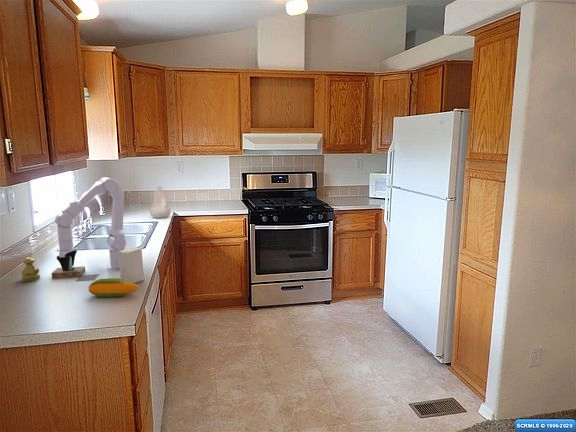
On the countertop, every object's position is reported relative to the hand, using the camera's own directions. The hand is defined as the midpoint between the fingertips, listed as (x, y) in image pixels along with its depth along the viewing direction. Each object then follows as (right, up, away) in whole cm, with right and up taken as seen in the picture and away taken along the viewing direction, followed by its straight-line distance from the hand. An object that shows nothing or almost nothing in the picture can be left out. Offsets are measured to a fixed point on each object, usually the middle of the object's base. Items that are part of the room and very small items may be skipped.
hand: (68, 268), depth 197 cm
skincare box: (+32, -5, -7) cm, 33 cm away
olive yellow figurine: (-15, -5, -4) cm, 16 cm away
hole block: (0, -4, +1) cm, 4 cm away
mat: (+10, -4, -3) cm, 12 cm away
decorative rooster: (+1, +22, +140) cm, 142 cm away
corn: (+31, -8, -24) cm, 40 cm away
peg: (0, -4, +1) cm, 4 cm away
